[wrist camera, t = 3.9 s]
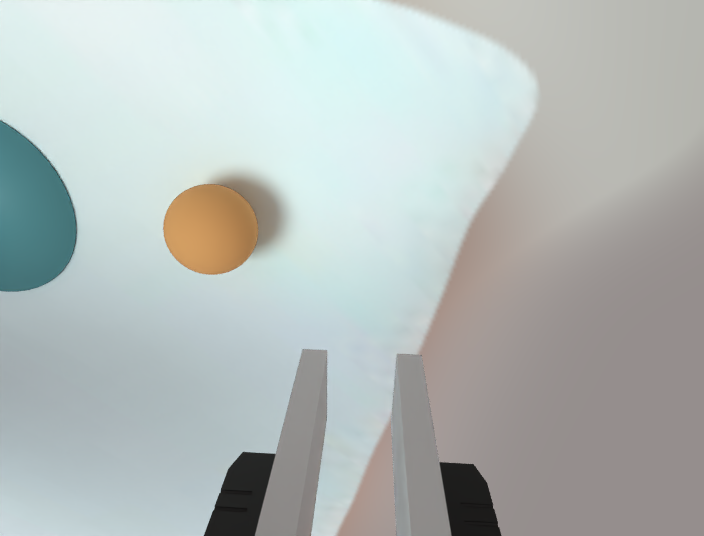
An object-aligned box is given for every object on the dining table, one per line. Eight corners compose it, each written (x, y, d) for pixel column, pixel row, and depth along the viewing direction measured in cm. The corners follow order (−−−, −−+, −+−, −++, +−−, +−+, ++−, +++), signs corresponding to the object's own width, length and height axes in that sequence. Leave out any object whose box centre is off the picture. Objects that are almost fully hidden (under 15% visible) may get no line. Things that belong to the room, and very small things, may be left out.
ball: (269, 255, 30) (248, 292, 25) (191, 252, 30) (154, 288, 25) (264, 176, 28) (240, 200, 23) (180, 173, 28) (137, 196, 23)
